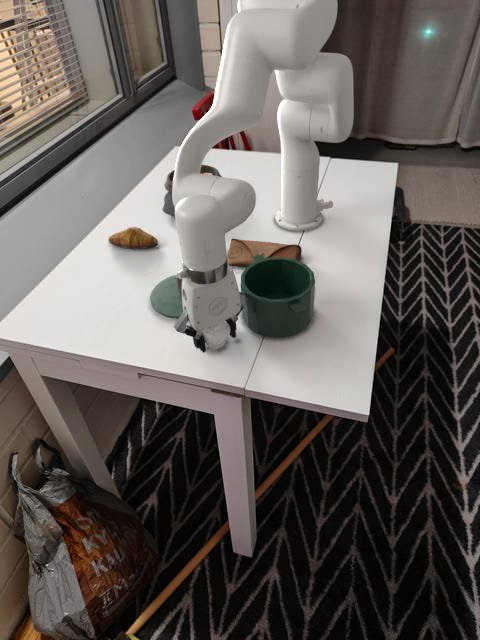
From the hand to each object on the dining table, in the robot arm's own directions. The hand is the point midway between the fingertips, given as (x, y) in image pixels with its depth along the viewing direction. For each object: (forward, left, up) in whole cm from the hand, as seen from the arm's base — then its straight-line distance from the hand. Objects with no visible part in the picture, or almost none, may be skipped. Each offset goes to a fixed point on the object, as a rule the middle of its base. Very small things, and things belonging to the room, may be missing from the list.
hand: (216, 340), depth 91 cm
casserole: (-15, -59, -1) cm, 61 cm away
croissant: (+7, -44, -1) cm, 44 cm away
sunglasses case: (-20, -22, -1) cm, 30 cm away
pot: (-15, -3, -1) cm, 15 cm away
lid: (+1, -17, 0) cm, 17 cm away
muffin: (0, 0, -1) cm, 1 cm away
